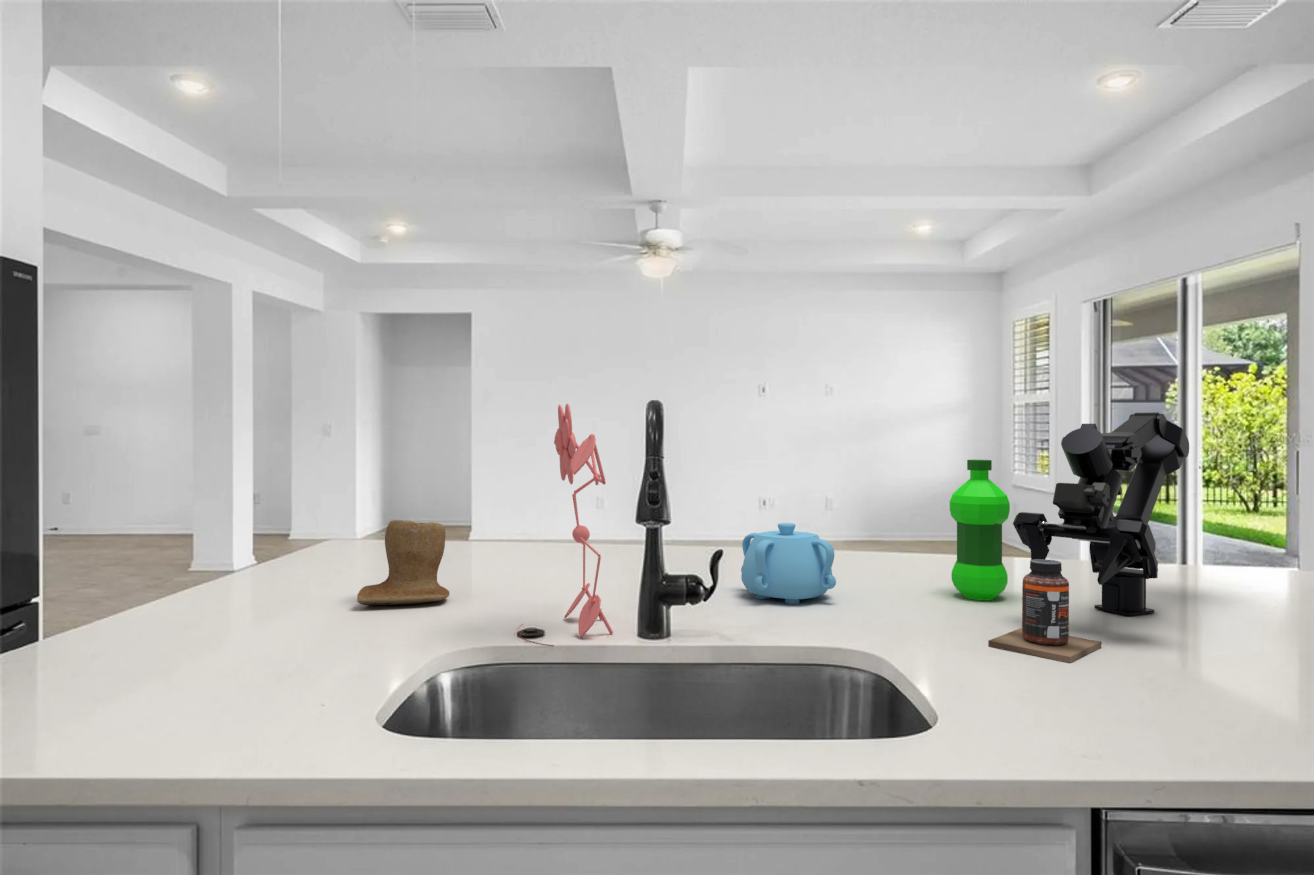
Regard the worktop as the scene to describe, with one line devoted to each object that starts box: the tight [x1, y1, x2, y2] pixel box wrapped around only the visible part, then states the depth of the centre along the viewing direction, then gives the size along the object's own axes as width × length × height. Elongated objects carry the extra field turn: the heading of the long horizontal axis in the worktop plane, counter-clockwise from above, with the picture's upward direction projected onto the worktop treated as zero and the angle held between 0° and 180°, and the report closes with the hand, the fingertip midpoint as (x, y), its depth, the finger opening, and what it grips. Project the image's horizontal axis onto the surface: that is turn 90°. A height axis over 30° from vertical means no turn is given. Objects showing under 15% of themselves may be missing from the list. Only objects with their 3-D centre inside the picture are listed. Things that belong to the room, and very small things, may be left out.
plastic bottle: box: [949, 459, 1011, 601], centre depth 146 cm, size 10×10×25 cm
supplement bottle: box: [1021, 558, 1070, 645], centre depth 113 cm, size 6×6×11 cm
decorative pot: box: [740, 522, 837, 605], centre depth 147 cm, size 16×16×14 cm
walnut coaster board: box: [987, 627, 1102, 664], centre depth 113 cm, size 11×11×1 cm
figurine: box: [513, 403, 614, 647], centre depth 124 cm, size 15×26×35 cm, turn 13°
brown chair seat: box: [356, 519, 451, 606], centre depth 144 cm, size 15×12×15 cm
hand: (1065, 578), depth 118 cm, fingers open, 9 cm apart
